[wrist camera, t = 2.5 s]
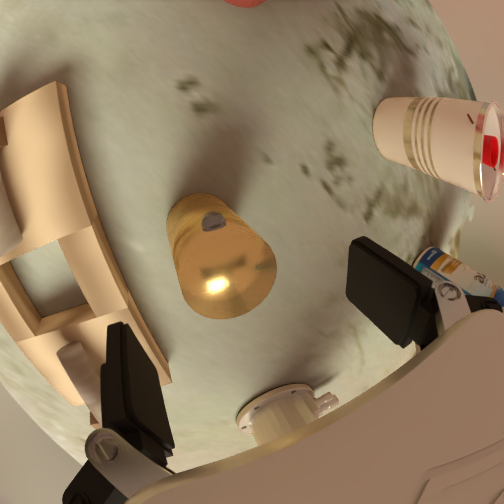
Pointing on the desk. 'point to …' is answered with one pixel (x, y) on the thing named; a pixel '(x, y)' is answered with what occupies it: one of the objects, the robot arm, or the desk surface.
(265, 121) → the desk surface
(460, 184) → the striped cup with float
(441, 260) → the blue supplement bottle
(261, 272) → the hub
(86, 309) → the shaft jig
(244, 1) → the plaque
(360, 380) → the desk surface
